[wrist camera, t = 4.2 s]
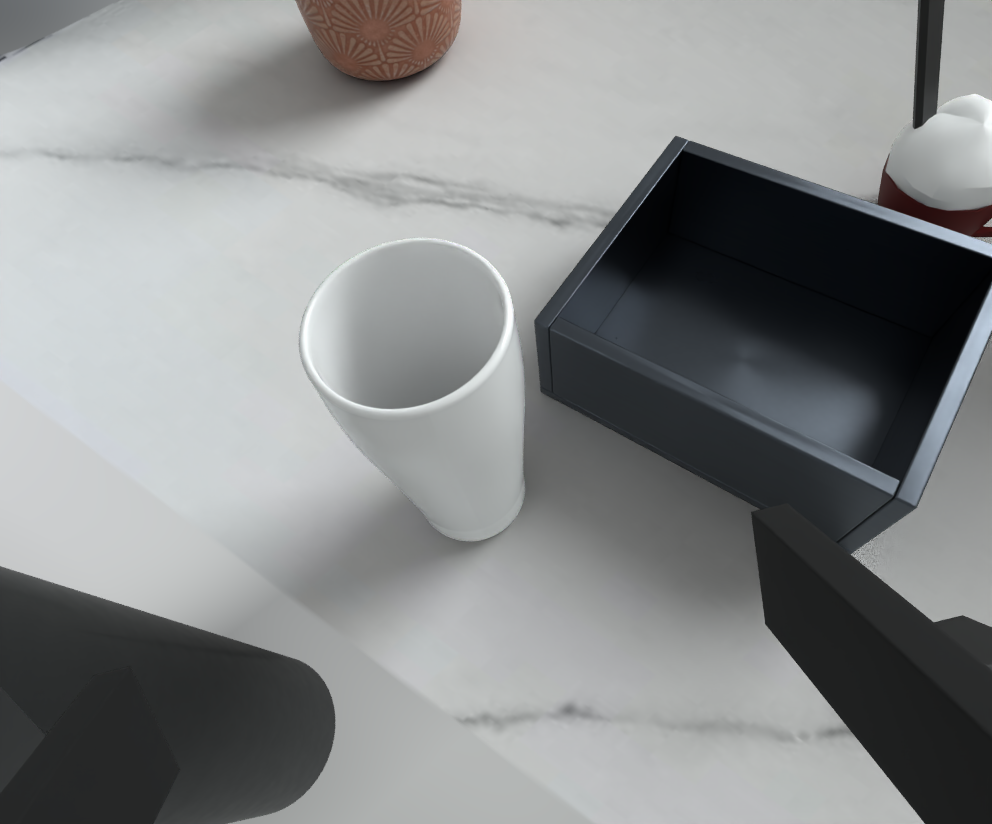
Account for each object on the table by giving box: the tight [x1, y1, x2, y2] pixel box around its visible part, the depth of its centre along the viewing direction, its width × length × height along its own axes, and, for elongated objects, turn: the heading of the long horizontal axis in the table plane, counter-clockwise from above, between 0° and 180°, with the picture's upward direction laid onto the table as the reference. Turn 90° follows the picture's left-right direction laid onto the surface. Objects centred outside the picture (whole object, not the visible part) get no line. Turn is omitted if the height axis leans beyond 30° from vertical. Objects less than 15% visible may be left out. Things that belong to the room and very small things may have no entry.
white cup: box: [299, 238, 525, 541], centre depth 26 cm, size 7×7×15 cm
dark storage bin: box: [534, 136, 992, 554], centre depth 31 cm, size 17×14×7 cm
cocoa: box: [878, 0, 992, 237], centre depth 32 cm, size 10×6×12 cm, turn 19°
